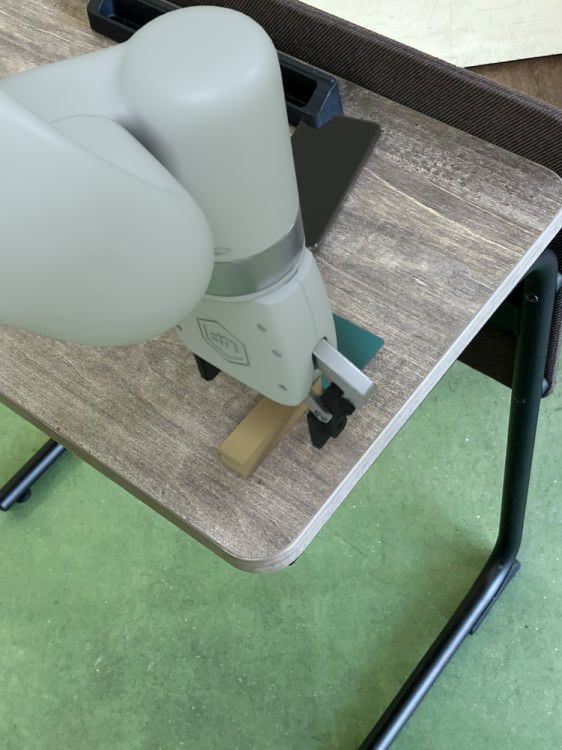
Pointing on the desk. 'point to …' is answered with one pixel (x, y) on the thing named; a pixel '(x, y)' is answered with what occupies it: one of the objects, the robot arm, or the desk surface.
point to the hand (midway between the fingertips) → (272, 397)
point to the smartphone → (328, 169)
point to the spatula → (276, 419)
